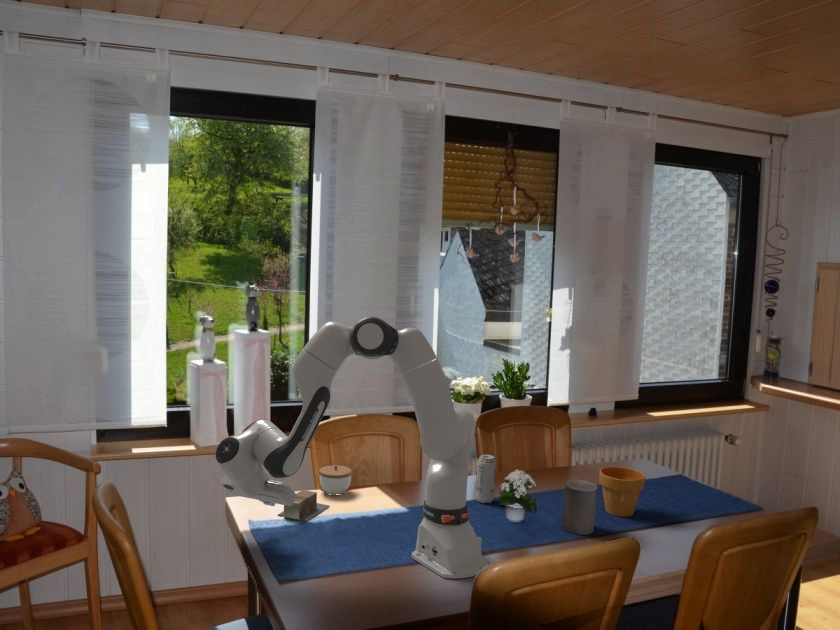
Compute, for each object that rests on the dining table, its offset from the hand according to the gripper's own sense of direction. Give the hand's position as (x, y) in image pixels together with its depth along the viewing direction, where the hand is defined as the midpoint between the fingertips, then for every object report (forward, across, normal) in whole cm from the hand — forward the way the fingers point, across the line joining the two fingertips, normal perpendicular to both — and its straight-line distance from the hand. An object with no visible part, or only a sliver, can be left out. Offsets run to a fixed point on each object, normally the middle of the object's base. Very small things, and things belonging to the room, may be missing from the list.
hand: (270, 503), depth 209 cm
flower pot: (+54, -89, -41) cm, 111 cm away
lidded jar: (+33, 0, -21) cm, 39 cm away
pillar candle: (+39, -79, -26) cm, 92 cm away
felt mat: (+19, 0, -7) cm, 21 cm away
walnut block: (+12, 0, -4) cm, 12 cm away
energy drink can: (+45, -47, -33) cm, 73 cm away
